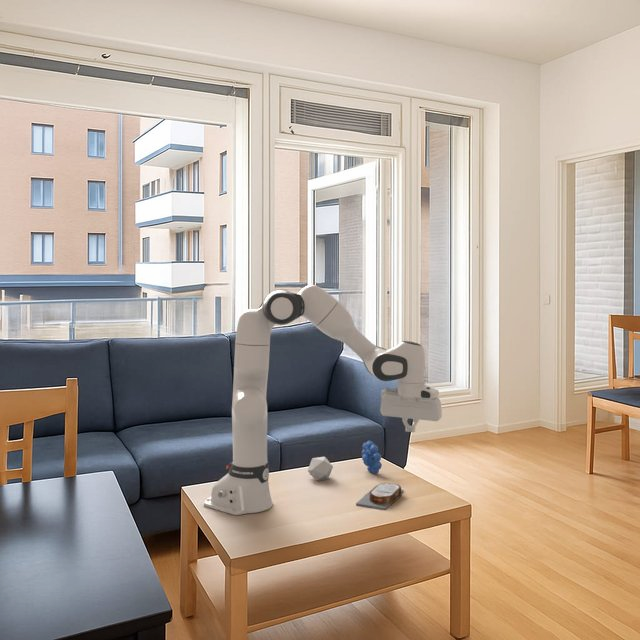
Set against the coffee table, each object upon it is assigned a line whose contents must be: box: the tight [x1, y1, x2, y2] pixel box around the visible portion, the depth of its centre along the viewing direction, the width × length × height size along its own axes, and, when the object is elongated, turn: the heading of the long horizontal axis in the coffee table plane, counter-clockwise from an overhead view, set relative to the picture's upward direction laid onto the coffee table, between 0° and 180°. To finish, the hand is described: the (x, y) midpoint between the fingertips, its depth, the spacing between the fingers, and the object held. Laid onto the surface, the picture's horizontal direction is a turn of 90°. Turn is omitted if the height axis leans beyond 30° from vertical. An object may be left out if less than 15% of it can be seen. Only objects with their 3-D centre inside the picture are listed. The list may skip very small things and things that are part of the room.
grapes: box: [361, 440, 383, 475], centre depth 235 cm, size 12×7×12 cm, turn 29°
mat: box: [355, 485, 404, 511], centre depth 208 cm, size 10×19×1 cm, turn 155°
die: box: [307, 456, 334, 482], centre depth 229 cm, size 8×9×10 cm
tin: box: [369, 482, 402, 505], centre depth 208 cm, size 15×3×8 cm
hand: (410, 431), depth 206 cm, fingers closed
